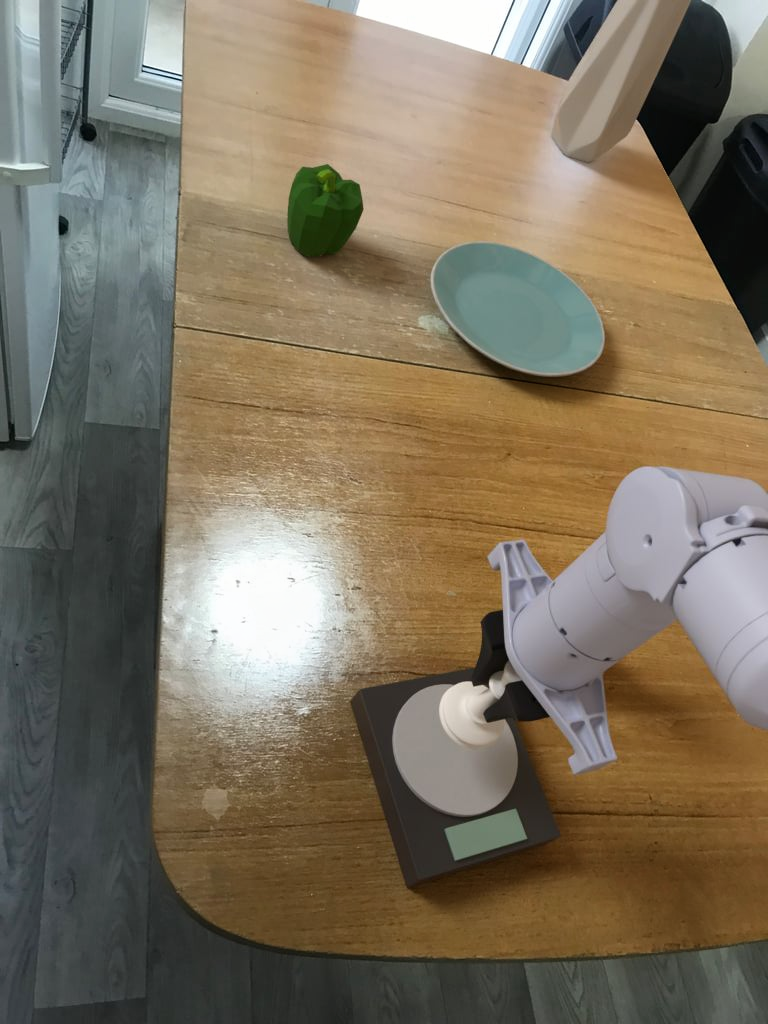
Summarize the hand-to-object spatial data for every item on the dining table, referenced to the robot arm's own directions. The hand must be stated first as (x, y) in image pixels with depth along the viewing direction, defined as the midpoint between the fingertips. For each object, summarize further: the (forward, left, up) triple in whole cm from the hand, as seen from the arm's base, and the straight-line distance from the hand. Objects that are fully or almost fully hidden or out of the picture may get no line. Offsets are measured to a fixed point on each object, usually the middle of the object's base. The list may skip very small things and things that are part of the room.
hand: (490, 697), depth 58 cm
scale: (-2, 0, -10) cm, 10 cm away
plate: (+47, -28, -10) cm, 56 cm away
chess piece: (0, 0, -4) cm, 4 cm away
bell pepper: (+59, -6, -10) cm, 60 cm away
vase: (+86, -57, -10) cm, 104 cm away
